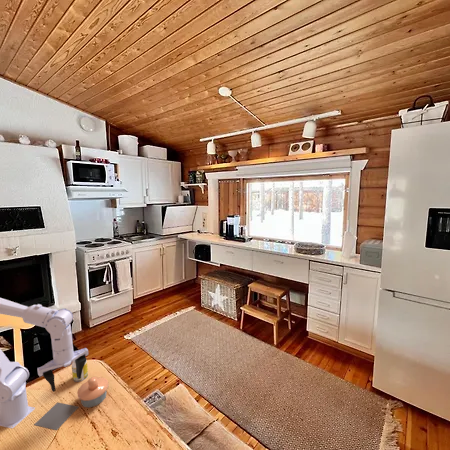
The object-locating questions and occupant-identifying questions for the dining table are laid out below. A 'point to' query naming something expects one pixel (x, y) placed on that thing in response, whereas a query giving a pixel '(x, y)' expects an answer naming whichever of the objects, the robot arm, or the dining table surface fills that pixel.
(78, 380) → the supplement bottle
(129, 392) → the dining table surface
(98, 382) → the lid
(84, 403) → the cup
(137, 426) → the dining table surface
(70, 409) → the mat
